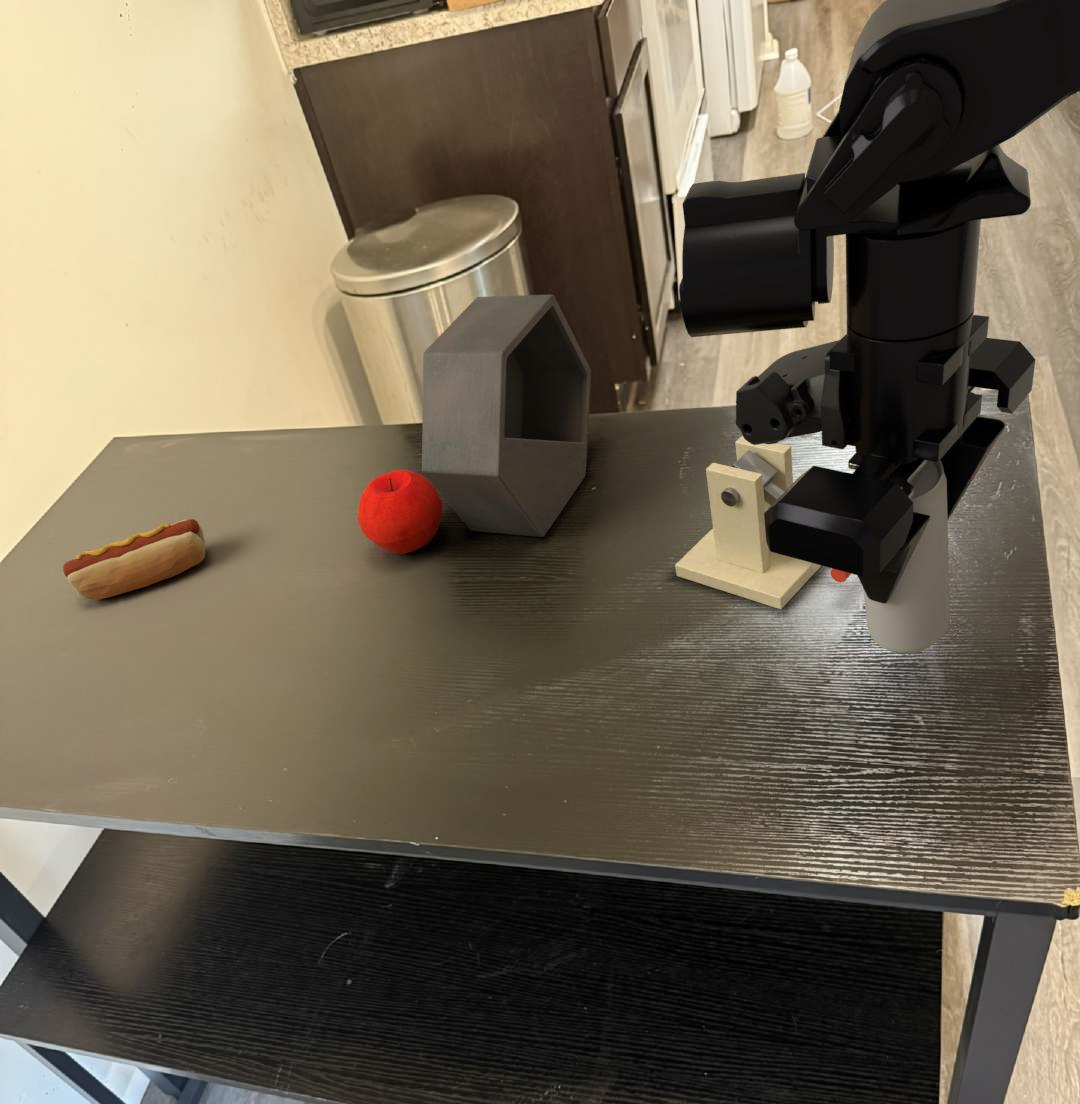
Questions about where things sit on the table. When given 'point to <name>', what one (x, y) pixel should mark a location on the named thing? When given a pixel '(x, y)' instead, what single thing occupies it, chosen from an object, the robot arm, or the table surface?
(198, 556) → the food
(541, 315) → the planter
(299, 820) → the table surface
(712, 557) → the bracket
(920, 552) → the beverage can
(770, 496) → the lever
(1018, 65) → the robot arm
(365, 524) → the apple
